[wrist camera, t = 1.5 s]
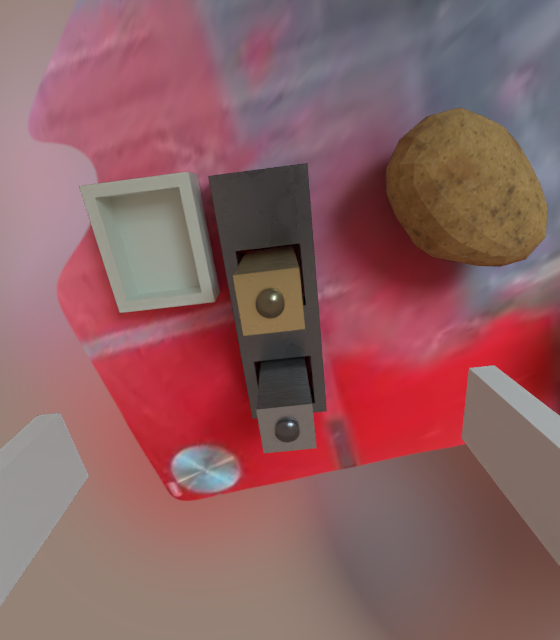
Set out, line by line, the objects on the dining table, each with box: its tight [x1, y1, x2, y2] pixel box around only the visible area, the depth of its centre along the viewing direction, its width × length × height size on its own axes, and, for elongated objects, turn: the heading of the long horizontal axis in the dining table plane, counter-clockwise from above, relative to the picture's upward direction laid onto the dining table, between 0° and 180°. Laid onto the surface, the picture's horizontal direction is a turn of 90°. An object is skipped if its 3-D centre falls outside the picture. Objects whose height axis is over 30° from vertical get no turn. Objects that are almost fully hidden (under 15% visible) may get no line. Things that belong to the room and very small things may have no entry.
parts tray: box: [79, 172, 220, 313], centre depth 29 cm, size 11×9×3 cm
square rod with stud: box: [256, 356, 316, 453], centre depth 30 cm, size 4×4×10 cm
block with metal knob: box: [233, 246, 305, 336], centre depth 27 cm, size 4×4×10 cm
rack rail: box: [208, 163, 327, 419], centre depth 31 cm, size 24×8×3 cm, turn 7°
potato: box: [386, 108, 548, 266], centre depth 25 cm, size 10×14×8 cm
